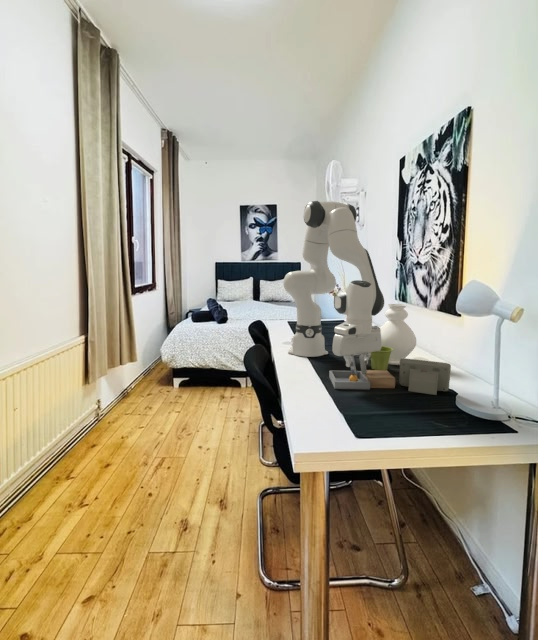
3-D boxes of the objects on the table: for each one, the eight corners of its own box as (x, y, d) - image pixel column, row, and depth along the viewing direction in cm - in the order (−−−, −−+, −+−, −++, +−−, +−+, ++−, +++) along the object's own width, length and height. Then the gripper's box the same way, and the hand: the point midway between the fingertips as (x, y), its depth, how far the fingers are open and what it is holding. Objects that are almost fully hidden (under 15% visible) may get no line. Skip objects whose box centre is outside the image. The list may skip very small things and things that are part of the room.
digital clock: (451, 391, 129) (453, 361, 128) (444, 398, 122) (447, 366, 121) (402, 382, 139) (404, 353, 137) (394, 388, 132) (396, 358, 130)
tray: (329, 376, 144) (329, 370, 144) (361, 377, 144) (361, 371, 144) (334, 388, 130) (334, 381, 130) (369, 389, 130) (370, 382, 130)
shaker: (359, 370, 140) (355, 350, 139) (370, 371, 135) (367, 350, 135) (348, 374, 137) (344, 353, 137) (359, 375, 132) (355, 354, 132)
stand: (362, 379, 142) (362, 369, 141) (386, 379, 142) (387, 370, 141) (368, 387, 132) (369, 377, 131) (394, 388, 132) (395, 378, 131)
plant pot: (392, 373, 150) (393, 351, 149) (367, 371, 152) (368, 350, 151) (390, 367, 159) (391, 346, 158) (366, 365, 161) (367, 345, 160)
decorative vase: (376, 354, 181) (379, 302, 177) (416, 358, 173) (420, 304, 170) (369, 363, 165) (372, 305, 161) (413, 368, 158) (417, 308, 154)
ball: (347, 378, 138) (353, 373, 138) (352, 385, 137) (359, 379, 137) (347, 377, 135) (354, 372, 135) (353, 384, 134) (360, 379, 134)
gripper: (374, 323, 142) (372, 360, 144) (330, 327, 132) (329, 366, 134) (387, 326, 136) (384, 364, 139) (342, 330, 127) (340, 371, 129)
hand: (356, 365), depth 136 cm, fingers closed on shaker, 6 cm apart
